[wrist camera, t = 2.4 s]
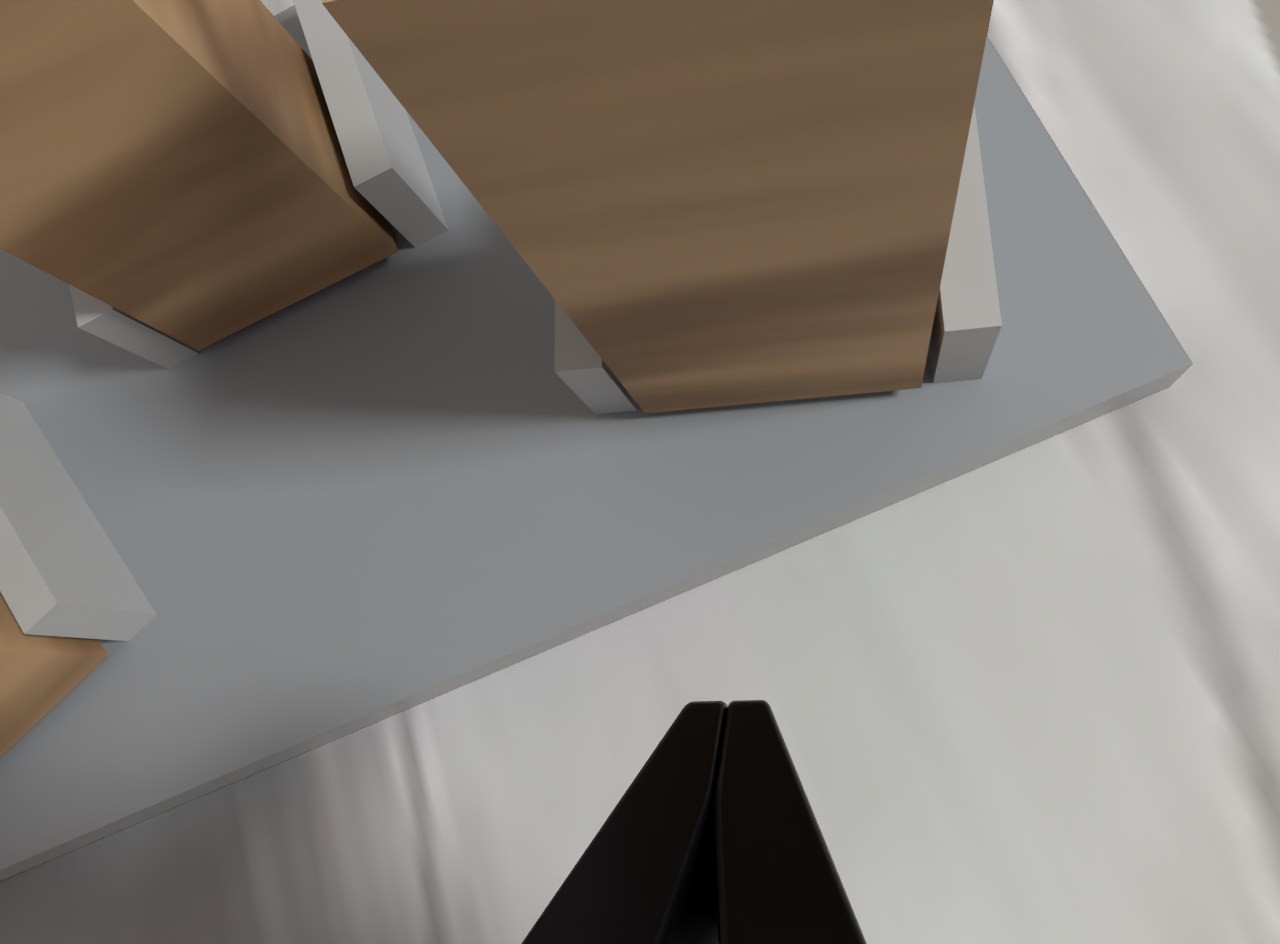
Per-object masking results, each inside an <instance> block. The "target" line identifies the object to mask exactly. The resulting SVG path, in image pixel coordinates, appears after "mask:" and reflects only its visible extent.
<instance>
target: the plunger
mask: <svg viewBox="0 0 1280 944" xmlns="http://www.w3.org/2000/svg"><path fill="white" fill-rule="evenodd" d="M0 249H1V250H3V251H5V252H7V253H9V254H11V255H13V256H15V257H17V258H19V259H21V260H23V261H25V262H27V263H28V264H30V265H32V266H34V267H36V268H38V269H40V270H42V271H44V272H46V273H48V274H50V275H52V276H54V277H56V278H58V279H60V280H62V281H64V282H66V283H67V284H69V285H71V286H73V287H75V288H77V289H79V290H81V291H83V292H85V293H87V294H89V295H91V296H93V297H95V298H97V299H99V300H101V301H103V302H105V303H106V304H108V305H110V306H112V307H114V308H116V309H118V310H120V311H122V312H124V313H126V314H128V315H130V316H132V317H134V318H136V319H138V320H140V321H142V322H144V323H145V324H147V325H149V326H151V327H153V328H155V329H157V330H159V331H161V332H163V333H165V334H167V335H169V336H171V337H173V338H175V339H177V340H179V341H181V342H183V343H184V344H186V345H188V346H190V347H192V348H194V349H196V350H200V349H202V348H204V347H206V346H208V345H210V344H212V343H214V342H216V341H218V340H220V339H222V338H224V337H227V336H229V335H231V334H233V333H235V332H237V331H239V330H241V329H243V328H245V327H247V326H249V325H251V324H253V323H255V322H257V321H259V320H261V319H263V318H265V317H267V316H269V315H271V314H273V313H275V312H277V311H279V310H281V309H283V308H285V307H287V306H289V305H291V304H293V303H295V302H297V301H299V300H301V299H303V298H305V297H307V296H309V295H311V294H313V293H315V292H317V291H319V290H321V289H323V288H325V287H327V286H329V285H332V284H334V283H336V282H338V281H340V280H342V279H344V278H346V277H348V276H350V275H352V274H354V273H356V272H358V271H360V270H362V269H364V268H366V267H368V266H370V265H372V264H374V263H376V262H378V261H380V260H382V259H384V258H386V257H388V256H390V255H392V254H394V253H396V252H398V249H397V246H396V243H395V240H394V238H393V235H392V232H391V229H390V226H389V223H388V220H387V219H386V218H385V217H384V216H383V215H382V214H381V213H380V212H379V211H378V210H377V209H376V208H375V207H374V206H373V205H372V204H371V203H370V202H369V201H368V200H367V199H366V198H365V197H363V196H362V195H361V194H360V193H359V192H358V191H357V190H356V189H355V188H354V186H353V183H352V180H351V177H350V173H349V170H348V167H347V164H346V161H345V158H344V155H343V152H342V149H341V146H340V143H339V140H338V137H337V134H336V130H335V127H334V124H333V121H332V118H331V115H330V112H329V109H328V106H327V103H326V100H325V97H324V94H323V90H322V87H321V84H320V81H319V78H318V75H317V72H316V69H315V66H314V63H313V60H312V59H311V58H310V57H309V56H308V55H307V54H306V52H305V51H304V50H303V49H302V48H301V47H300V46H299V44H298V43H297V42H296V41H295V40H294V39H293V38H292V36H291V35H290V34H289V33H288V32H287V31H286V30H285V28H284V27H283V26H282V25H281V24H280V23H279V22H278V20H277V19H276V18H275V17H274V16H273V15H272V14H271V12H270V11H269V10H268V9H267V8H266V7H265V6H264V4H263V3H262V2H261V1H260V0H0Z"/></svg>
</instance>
